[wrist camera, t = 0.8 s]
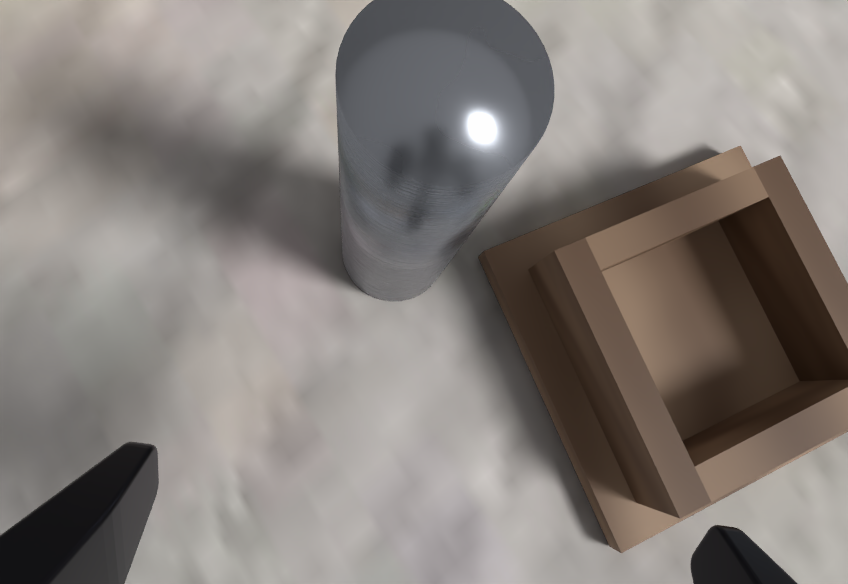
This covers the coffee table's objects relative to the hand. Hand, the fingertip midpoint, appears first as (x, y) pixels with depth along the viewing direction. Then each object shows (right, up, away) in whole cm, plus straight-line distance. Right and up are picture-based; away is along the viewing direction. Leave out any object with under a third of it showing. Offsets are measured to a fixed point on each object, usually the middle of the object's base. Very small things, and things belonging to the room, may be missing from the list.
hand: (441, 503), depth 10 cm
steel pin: (-1, +5, +14) cm, 15 cm away
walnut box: (+10, +2, +15) cm, 18 cm away
